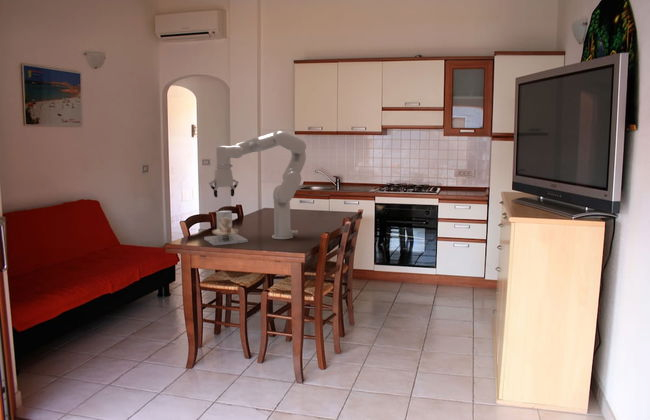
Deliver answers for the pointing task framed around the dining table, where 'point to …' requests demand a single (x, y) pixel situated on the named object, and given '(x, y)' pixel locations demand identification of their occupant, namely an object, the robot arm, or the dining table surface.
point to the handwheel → (225, 228)
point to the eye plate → (225, 239)
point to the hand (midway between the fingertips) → (224, 196)
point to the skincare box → (223, 214)
